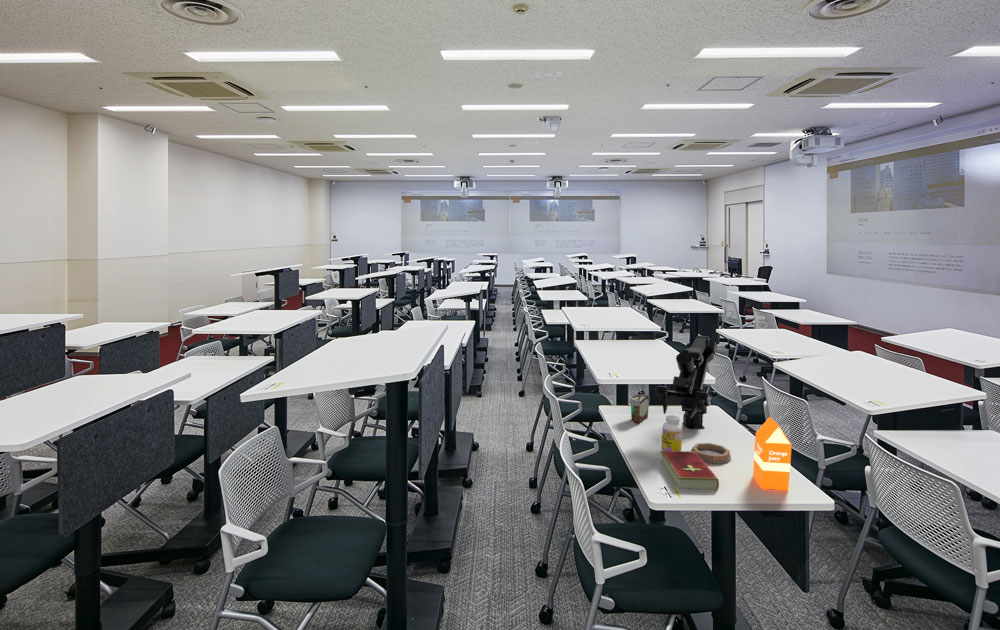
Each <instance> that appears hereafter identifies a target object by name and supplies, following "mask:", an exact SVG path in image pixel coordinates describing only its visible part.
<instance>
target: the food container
mask: <svg viewBox="0 0 1000 630" xmlns="http://www.w3.org/2000/svg"><path fill="white" fill-rule="evenodd" d="M650 398H651V397H650V394H643V393H640V394H633V395H631V396H630V398H629V404H630V410H631V411H630V413H631V422H632V421H633V422H632V423H634V424H636V423H637V424H636V425H641V424H642V423H643V422H645V421H646V420H647V419H648V417H649V407H650V405H649V404H650ZM644 420H645V421H644ZM640 423H641V424H640Z"/></svg>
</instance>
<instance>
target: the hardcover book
mask: <svg viewBox="0 0 1000 630" xmlns="http://www.w3.org/2000/svg"><path fill="white" fill-rule="evenodd" d="M660 453H661V454H662V456H661V457H662V458H661V459H662V463H663V465H664V466H666V467H665V468H666V470H667V469H668V470H667V472H668V473H669V472H670V473H669V474H671V475H670V476H671V478H672V477H673V478H672V479H673V481H674V482H675V484H676V486H677V485H678V486H677V488H678V489H684V488H693V489H695V490H698V489H699V490H716V491H717V490H719V487H720V480H719V478H718V477H717V476H716V475H715V473H714V472H713V471H712V469H711V468H710V467H709V466H708V465H707V463H705V462H704V461H703V460H702V459H701V458H700V456H699V455H698V454H697V453H696V452H691V450H690V451H689V450H688V451H685V450H683V451H682V450H681V451H662V450H661V451H660Z"/></svg>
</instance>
